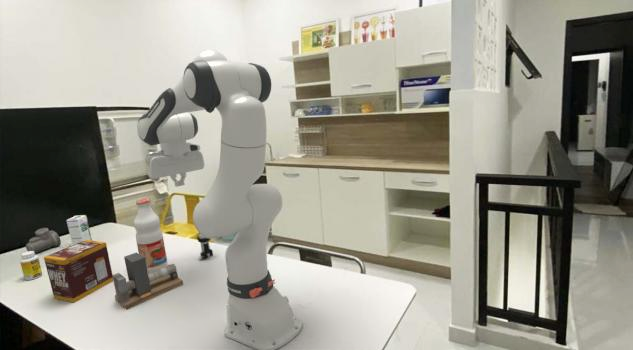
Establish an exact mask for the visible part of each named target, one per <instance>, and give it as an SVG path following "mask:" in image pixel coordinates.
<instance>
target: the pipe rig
mask: <svg viewBox="0 0 633 350" xmlns="http://www.w3.org/2000/svg"><path fill="white" fill-rule="evenodd" d="M112 277H113V281H112V282H113V285H114V290H115V295H114V298H115V300H116V302H117V303H119V304H120V305H121V306H122V307H123V308H124V309H125V310H126V311H127V310H129V309H130V310H131V309H132V308H134V307H137V306H138V305H141V304H143V303H145V302H147V301H149V300H152V299H154V298H157V297H159V296H161V295H163V294H165V293H167V292H169V291H171V290H174V289H176V288H178V287H180V286H183V285H184V281H183V279H181V278H180V277H179V276H178V271H177V265H176V264H175V263H171V264H169V265H168V264H167V266H166V267H163V268H161V269H158V270H156V271H153V272H151V273H148V277H149V282H150V288H151V291H149V292H147V293H145V294H142V295H140V296H138V295H137V294H136V293H134V292H133V291H132V290H133V289H135V288H136V287H135V282H134V280H131V281H129V280H128V281H127V278H126V276H124V275H122V274H121V273H120V272H117V273H114V274H112Z"/></svg>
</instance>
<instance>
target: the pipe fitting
mask: <svg viewBox="0 0 633 350" xmlns="http://www.w3.org/2000/svg"><path fill="white" fill-rule="evenodd" d="M34 234H35V235H36V236H34V237H32V238H30V239H29V240H28V242H27V243H26V244H25V248H26V252H28V251H34V253H35V255H36V254H39V253H40V252H42V251H45V250H47V249H49V248H51V247H54V248H56V247H59V246H61V243H62V240H61V238H60V236H59V234H58V233H57V232H56V231H54V230H49V228H48V227H42V228H39V229H37V230H36V231H34Z"/></svg>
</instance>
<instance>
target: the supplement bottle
mask: <svg viewBox="0 0 633 350" xmlns="http://www.w3.org/2000/svg"><path fill="white" fill-rule="evenodd" d="M19 263H20V267H21V271H22V274H23V278H24V280H25V281H31V280H35V279H37V278H40V277H41V276H42V275H43V271H42V267H41V263H40V258H39V255H36V254H35V253H34V251H26V252H22V253H21V259H20V260H19Z"/></svg>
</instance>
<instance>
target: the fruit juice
mask: <svg viewBox="0 0 633 350" xmlns="http://www.w3.org/2000/svg"><path fill="white" fill-rule="evenodd" d="M135 204H136V206H137V214H136V216H135V218H134V221H133V227H134V230H135V231H136V234H135V240H136V241H135V242H136V247H137V253H138V254H140V255H141V256H143V257H145V261H146V266H147V271H148V273H151V272H153V271H156V270H158V269H161V268H163V267H166V266H168V257H167V252H166V248H165V247H166V246H165V240H164V235H163V230H162V229H161V227H160V226H161V221H160V220H161V219H160V217H159V215H158V214H157V213H156V212H155V211H154V210H153V209H152V206H151V204H152V201H151V199H150V198H141V199H138V200H136V201H135Z"/></svg>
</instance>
